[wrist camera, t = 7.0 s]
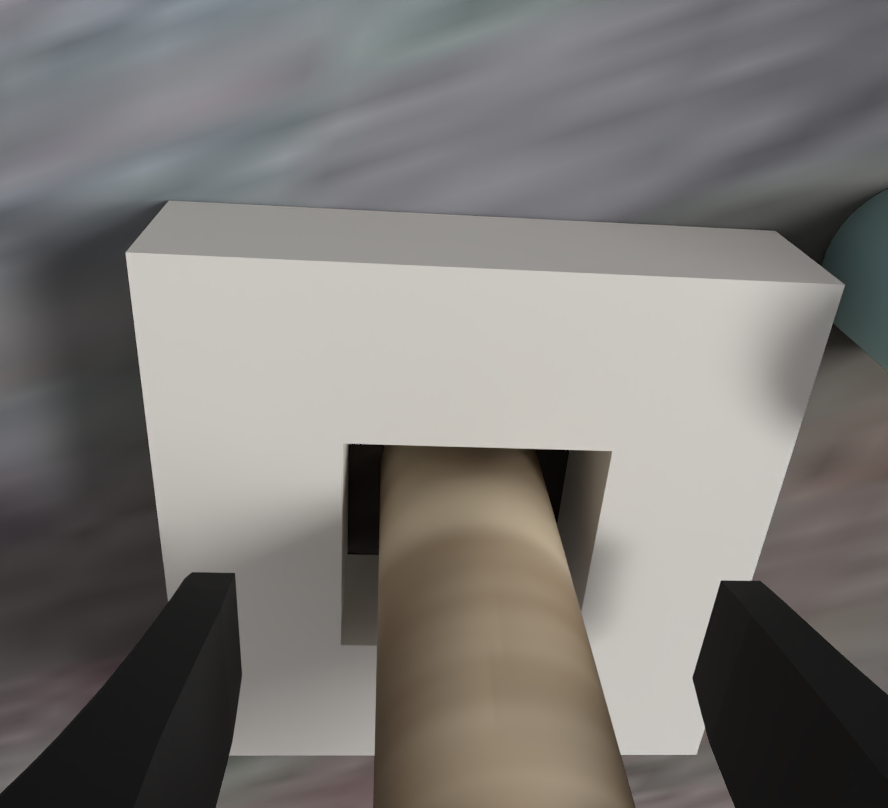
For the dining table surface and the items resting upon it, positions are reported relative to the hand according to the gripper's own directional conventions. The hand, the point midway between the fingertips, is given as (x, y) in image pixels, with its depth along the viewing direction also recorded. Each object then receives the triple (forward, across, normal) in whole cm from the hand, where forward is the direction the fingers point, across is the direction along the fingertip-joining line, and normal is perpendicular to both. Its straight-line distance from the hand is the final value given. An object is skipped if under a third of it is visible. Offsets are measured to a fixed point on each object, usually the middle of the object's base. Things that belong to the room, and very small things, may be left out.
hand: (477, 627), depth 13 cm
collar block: (+4, 0, 0) cm, 4 cm away
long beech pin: (+4, 0, 0) cm, 4 cm away
